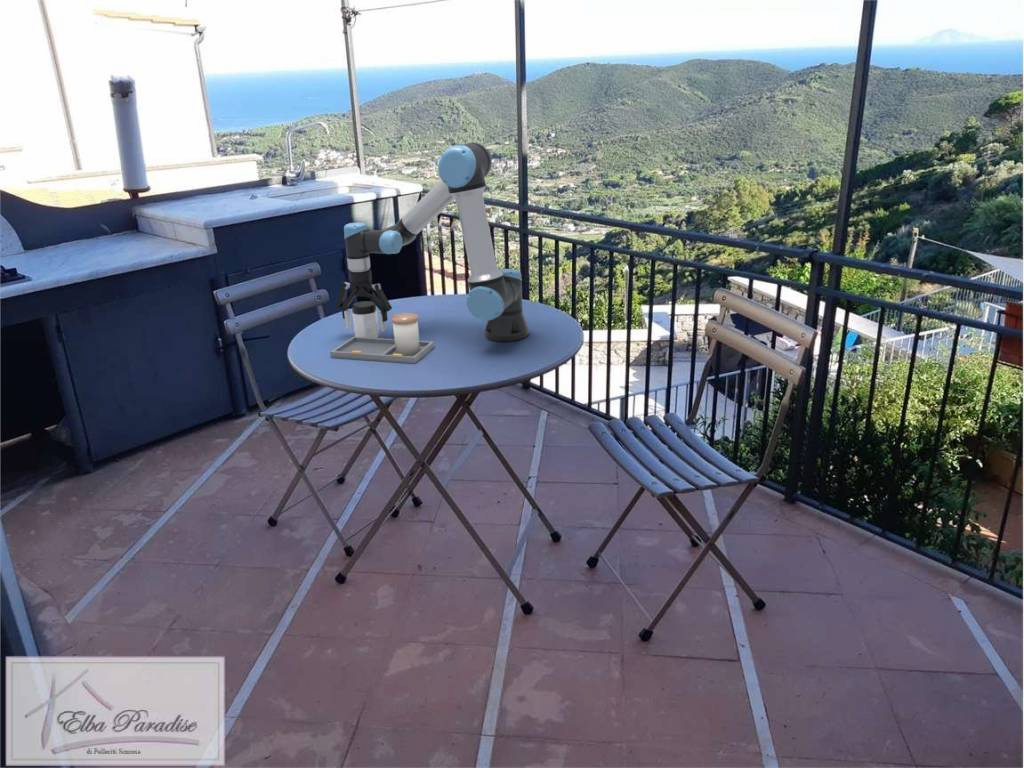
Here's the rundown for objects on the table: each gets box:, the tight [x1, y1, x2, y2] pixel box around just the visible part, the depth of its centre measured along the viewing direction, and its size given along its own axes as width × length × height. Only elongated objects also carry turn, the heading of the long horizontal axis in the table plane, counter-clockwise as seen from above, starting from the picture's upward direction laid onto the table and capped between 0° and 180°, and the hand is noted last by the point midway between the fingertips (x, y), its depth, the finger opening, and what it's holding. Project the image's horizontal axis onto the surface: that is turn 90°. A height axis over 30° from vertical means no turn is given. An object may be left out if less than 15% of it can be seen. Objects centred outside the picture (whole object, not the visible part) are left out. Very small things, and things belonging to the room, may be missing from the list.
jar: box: [351, 300, 380, 338], centre depth 261 cm, size 9×8×12 cm
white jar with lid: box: [391, 312, 420, 356], centre depth 242 cm, size 8×8×12 cm
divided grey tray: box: [329, 336, 435, 365], centre depth 246 cm, size 30×16×3 cm, turn 73°
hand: (366, 329), depth 262 cm, fingers open, 13 cm apart
